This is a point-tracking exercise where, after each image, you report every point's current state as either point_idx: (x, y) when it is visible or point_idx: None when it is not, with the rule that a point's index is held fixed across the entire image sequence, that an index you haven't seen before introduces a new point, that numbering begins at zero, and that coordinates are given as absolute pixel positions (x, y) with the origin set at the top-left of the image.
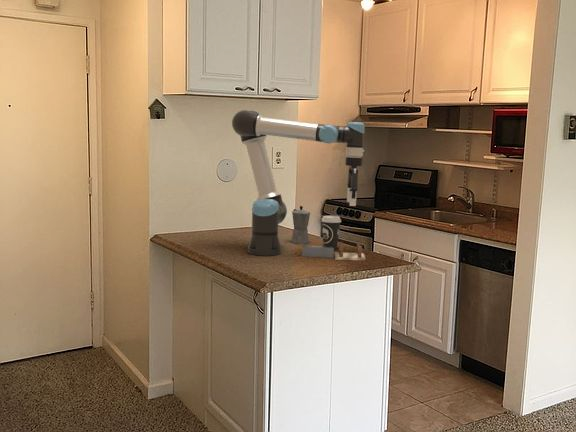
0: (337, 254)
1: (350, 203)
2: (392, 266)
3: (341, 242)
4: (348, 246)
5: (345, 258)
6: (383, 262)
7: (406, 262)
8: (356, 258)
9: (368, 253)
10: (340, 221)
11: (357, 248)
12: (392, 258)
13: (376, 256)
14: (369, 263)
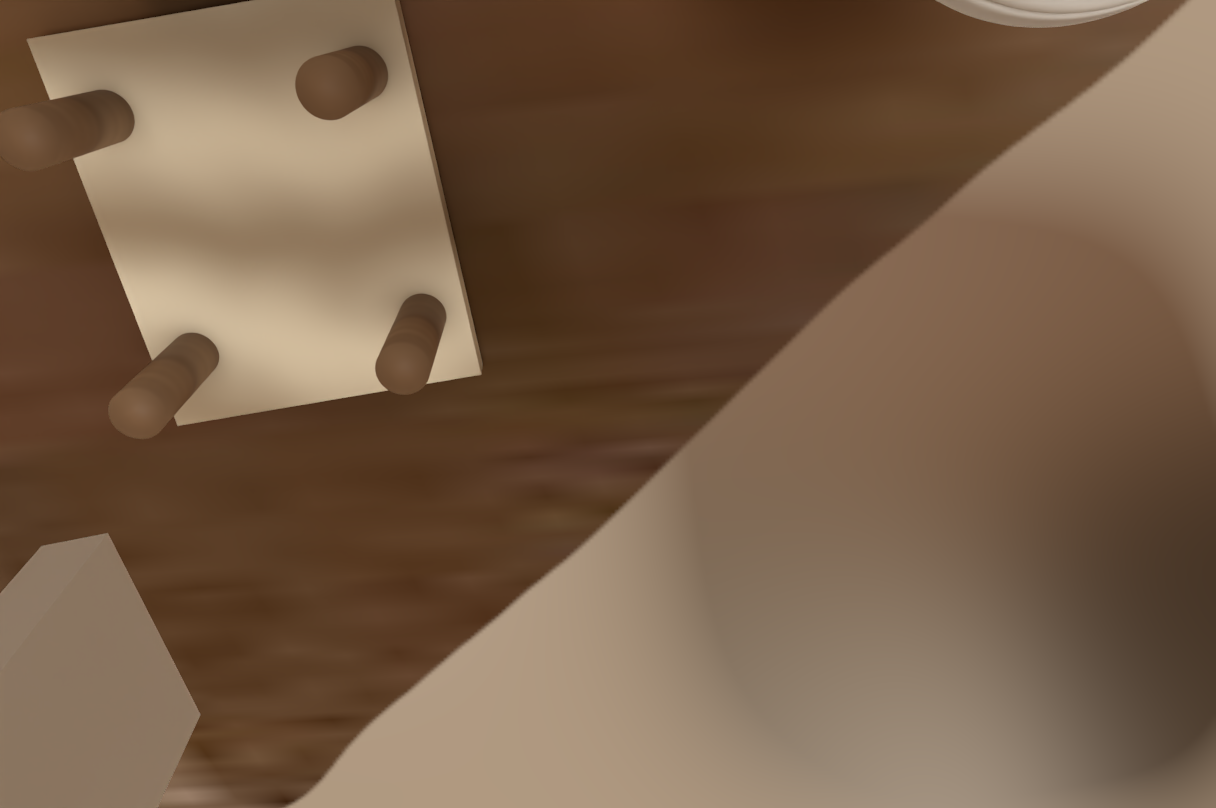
0: (238, 44)
1: (8, 626)
2: None
3: (303, 105)
4: (1040, 116)
5: (87, 181)
6: (193, 589)
7: (306, 766)
8: (138, 321)
9: (628, 407)
10: (982, 12)
11: (390, 330)
12: (444, 650)
13: (484, 502)
14: (57, 466)
